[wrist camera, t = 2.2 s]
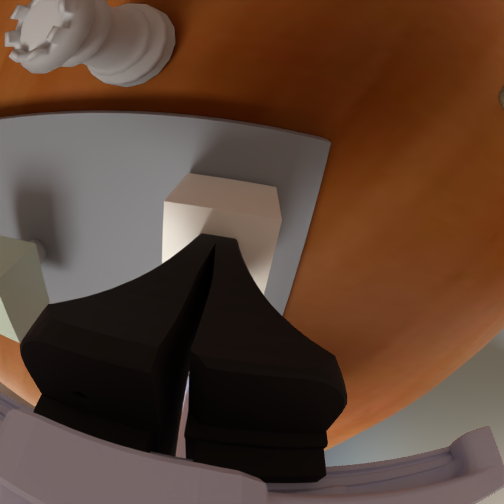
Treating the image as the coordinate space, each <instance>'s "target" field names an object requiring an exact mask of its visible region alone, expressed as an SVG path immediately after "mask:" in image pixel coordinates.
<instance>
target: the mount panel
mask: <svg viewBox="0 0 504 504" xmlns="http://www.w3.org/2000/svg"><path fill="white" fill-rule="evenodd" d="M330 145H331V142H330V141H328V140H327V139H325V138H323V137H318V136H314V135H310V134H306V133H301V132H296V131H292V130H287V129H282V128H277V127H272V126H266V125H261V124H255V123H249V122H242V121H236V120H229V119H222V118H214V117H206V116H197V115H187V114H176V113H163V112H147V111H119V110H87V111H60V112H44V113H33V114H23V115H14V116H6V117H0V235H1V236H5V237H9V238H14V239H18V240H23V241H27V242H32V243H36V247H37V252H38V256H39V261H40V265H41V270H42V274H43V278H44V282H45V286H46V289H47V293H48V297H49V300H50V302H49V303H50V304H53V303H58V302H63V301H68V300H73V299H78V298H82V297H86V296H90V295H93V294H97V293H100V292H103V291H106V290H109V289H112V288H114V287H117V286H119V285H122V284H124V283H126V282H129V281H131V280H134V279H136V278H138V277H140V276H142V275H144V274H146V273H147V272H149V271H151V270H153V269H155V268H156V267H158V266H159V265H161V264H162V238H163V213H164V201H165V200H166V198H167V197H168V196H169V195H170V194H171V192H172V191H173V190H174V189H175V188H176V186H177V185H178V184H179V183H180V182H181V181H182V179H183V178H184V177H185V176H186V175H187V174H188V173H192V174H199V175H206V176H213V177H220V178H226V179H233V180H239V181H245V182H251V183H257V184H262V185H268V186H274V187H276V188H277V194H278V200H279V205H280V211H281V217H282V222H281V226H280V231H279V235H278V239H277V243H276V247H275V251H274V256H273V260H272V264H271V268H270V272H269V276H268V280H267V284H266V288H265V292H264V296H265V297H266V299H267V300H268V301H269V302H270V304H271V305H272V306H273V307H274V308H275V309H276V310H277V311H278V312H279V313H280V314H281V315H282V316H283V313H284V310H285V307H286V304H287V300H288V297H289V294H290V291H291V287H292V284H293V281H294V278H295V274H296V271H297V268H298V264H299V261H300V257H301V254H302V251H303V247H304V244H305V240H306V237H307V233H308V230H309V226H310V222H311V219H312V215H313V211H314V208H315V204H316V200H317V197H318V193H319V189H320V185H321V181H322V177H323V174H324V170H325V166H326V162H327V158H328V154H329V149H330Z"/></svg>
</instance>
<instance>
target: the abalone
mask: <svg viewBox="0 0 504 504" xmlns="http://www.w3.org/2000/svg"><path fill="white" fill-rule="evenodd" d="M499 102H500V104H501V106H502V108H503V110H504V86H503V88H502V89H501V91H500V93H499Z"/></svg>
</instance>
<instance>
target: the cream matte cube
mask: <svg viewBox="0 0 504 504" xmlns="http://www.w3.org/2000/svg"><path fill="white" fill-rule="evenodd" d="M281 222H282V217H281V211H280V205H279V200H278V194H277V188H276V187H274V186H268V185H262V184H257V183H251V182H245V181H239V180H233V179H226V178H220V177H213V176H206V175H199V174H192V173H188V174H187V175H186V176H185V177H184V178H183V179H182V181H181V182H180V183H179V184H178V185H177V186H176V188H175V189H174V190H173V191H172V192H171V194H170V195H169V196H168V197H167V198H166V200H165V201H164V213H163V238H162V263H164V262H165V261H167V260H168V259H170V258H171V257H173V256H174V255H175V254H176V253H178V252H179V251H180V250H182V249H183V248H184V247H185V246H187V245H188V244H189V243H190V242H191V241H193V240H194V239H195V238H196V237H197V236H198V235H200V234H201V233H204V234H210V235H217V236H223V237H229V238H235V239H236V240H237V241H238V244H239V248H240V252H241V254H242V257H243V259H244V262H245V264H246V266H247V268H248V270H249V272H250V274H251V276H252V278H253V279H254V281H255V283H256V284H257V286H258V287H259V289H260V290H261V292H262V293H263V295H264V292H265V288H266V284H267V280H268V276H269V272H270V268H271V264H272V260H273V256H274V251H275V247H276V243H277V239H278V235H279V231H280V226H281Z"/></svg>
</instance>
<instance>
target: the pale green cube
mask: <svg viewBox="0 0 504 504" xmlns="http://www.w3.org/2000/svg"><path fill="white" fill-rule="evenodd" d="M49 302H50V300H49V297H48V293H47V289H46V286H45V282H44V278H43V274H42V270H41V265H40V261H39V256H38V252H37V247H36V243H32V242H27V241H23V240H18V239H14V238H9V237H5V236H1V235H0V334H1V335H4V336H6V337H8V338H10V339H12V340H14V341H17V342H19V343H20V342H21V341H22V339H23V338H24V336H25V335H26V333H27V332H28V330H29V329H30V328H31V326H32V325H33V323H34V322H35V321H36V319H37V318H38V316H39V315H40V314H41V312H42V311H43V310H44V308H45V307H46V306H47V304H48V303H49Z"/></svg>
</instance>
